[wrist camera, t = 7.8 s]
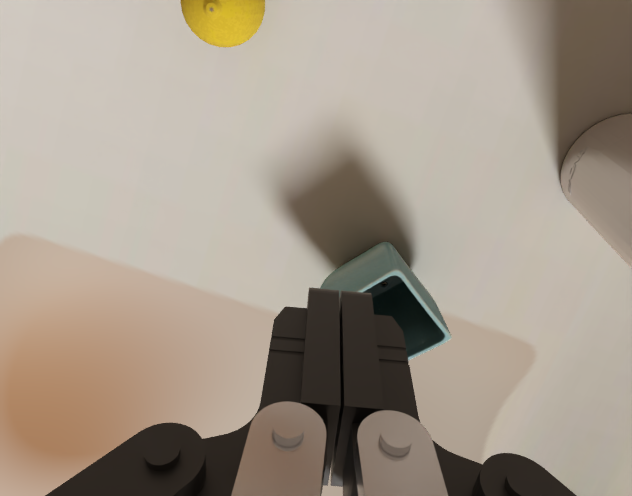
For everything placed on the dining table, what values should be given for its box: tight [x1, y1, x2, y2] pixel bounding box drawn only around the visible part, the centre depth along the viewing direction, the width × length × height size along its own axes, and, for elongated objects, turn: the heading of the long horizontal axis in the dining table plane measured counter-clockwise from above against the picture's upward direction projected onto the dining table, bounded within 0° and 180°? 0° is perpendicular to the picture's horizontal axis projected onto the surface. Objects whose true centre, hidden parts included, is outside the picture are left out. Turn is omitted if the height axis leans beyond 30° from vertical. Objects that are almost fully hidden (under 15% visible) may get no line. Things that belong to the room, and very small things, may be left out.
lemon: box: [181, 0, 265, 47], centre depth 34 cm, size 6×6×8 cm
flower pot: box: [320, 242, 452, 360], centre depth 46 cm, size 9×9×9 cm
